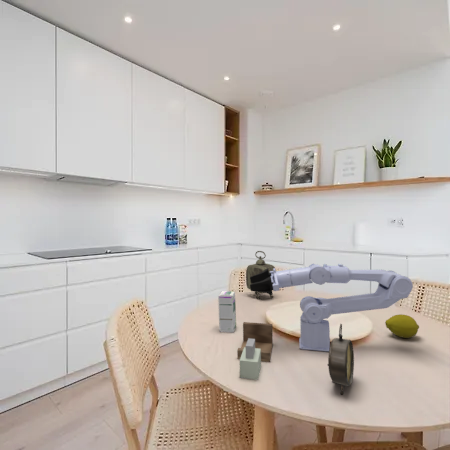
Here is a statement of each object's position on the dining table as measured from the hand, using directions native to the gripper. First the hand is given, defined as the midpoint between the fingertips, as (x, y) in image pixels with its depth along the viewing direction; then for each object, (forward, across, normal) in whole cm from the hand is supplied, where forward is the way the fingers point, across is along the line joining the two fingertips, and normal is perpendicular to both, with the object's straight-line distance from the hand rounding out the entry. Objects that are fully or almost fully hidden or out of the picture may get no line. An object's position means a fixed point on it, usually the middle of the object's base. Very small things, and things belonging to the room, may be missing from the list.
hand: (250, 283), depth 101 cm
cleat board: (+2, +8, +20) cm, 22 cm away
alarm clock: (-20, +25, +22) cm, 39 cm away
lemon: (-50, -6, +30) cm, 59 cm away
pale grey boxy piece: (+3, +20, +19) cm, 27 cm away
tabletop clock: (-1, -52, +28) cm, 59 cm away
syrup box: (+12, -9, +21) cm, 26 cm away
